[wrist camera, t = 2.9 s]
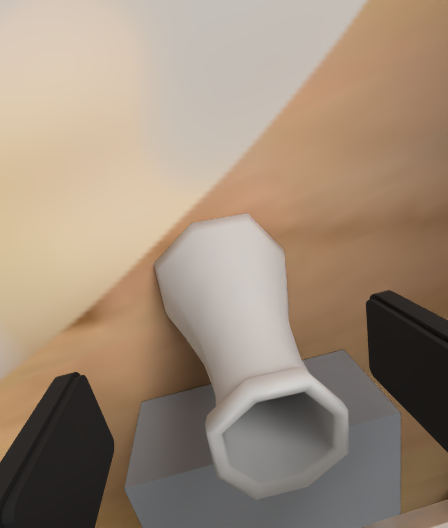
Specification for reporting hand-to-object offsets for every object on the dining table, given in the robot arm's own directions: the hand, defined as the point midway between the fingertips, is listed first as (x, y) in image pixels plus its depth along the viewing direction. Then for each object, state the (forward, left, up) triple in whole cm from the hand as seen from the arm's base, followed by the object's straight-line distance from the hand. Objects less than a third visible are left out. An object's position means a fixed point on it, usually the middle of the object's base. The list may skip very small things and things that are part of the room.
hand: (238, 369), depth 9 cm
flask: (0, 0, -7) cm, 7 cm away
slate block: (+13, 0, -7) cm, 14 cm away
